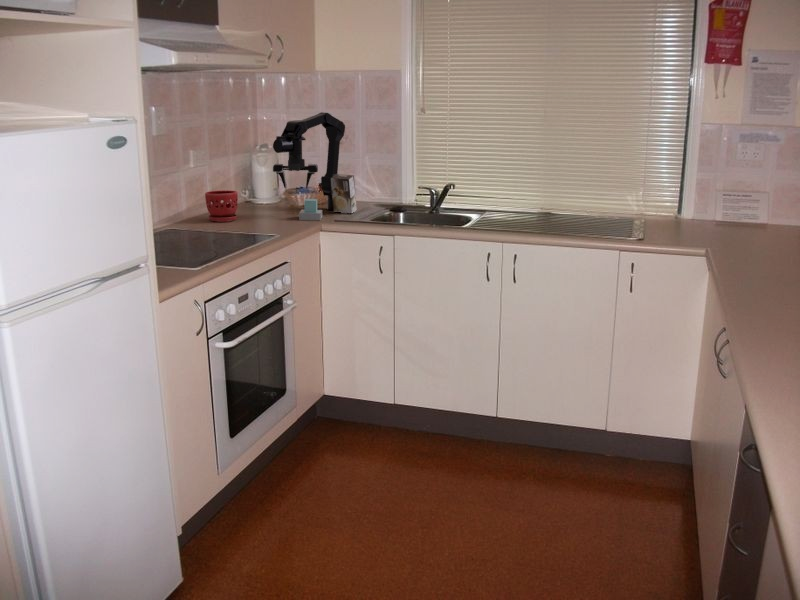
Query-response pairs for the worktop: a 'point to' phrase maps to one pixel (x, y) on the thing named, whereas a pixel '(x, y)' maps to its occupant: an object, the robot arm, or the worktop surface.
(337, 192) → the coffee box
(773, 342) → the worktop surface
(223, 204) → the plant pot
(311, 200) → the teal cube
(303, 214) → the stone plinth
